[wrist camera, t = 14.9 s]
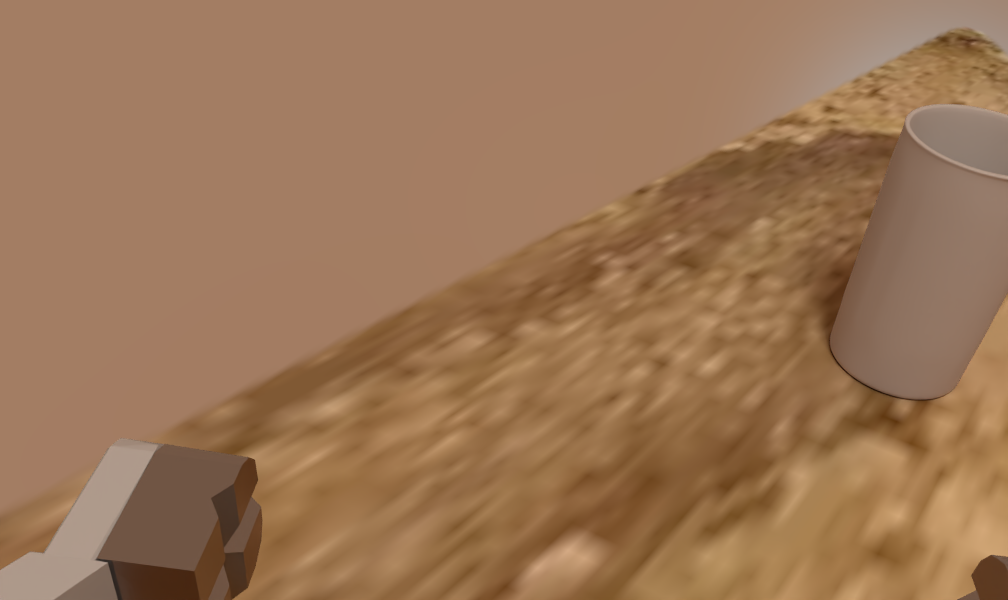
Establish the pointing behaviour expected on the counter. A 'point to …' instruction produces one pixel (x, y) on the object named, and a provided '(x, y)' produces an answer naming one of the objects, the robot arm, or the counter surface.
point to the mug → (930, 256)
